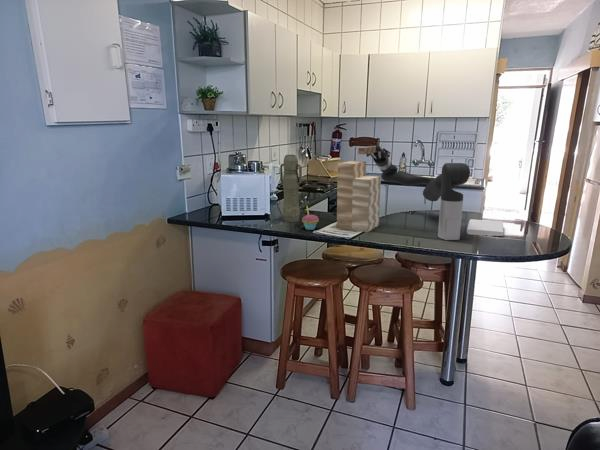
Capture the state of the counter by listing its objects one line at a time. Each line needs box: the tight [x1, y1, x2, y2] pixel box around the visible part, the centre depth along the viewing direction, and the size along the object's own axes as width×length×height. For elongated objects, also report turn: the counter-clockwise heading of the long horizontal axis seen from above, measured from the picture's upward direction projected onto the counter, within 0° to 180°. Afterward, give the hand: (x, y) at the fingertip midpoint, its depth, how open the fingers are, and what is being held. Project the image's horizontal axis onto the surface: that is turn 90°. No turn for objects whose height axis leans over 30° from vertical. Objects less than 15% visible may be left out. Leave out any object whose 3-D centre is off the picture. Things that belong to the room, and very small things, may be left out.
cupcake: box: [301, 205, 320, 231], centre depth 197 cm, size 9×8×12 cm
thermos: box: [279, 154, 303, 223], centre depth 213 cm, size 9×12×35 cm
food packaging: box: [466, 218, 504, 237], centre depth 191 cm, size 15×3×20 cm
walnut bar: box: [357, 145, 378, 155], centre depth 205 cm, size 24×3×3 cm, turn 150°
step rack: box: [336, 160, 382, 233], centre depth 197 cm, size 16×16×32 cm
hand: (373, 146), depth 208 cm, fingers closed on walnut bar, 3 cm apart
